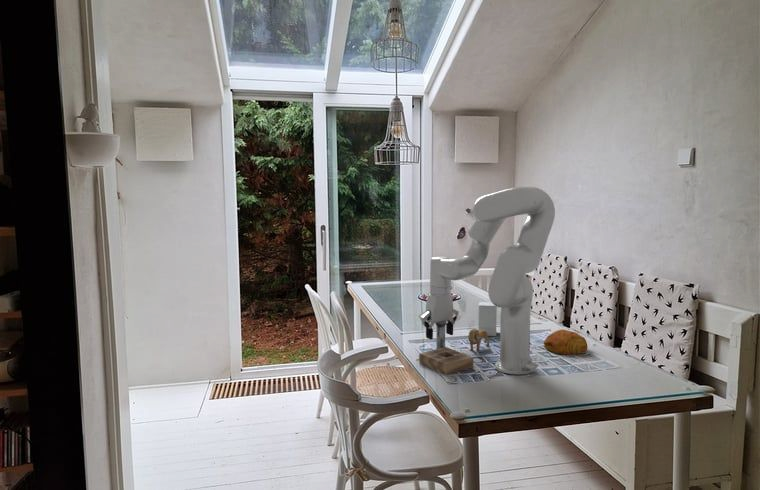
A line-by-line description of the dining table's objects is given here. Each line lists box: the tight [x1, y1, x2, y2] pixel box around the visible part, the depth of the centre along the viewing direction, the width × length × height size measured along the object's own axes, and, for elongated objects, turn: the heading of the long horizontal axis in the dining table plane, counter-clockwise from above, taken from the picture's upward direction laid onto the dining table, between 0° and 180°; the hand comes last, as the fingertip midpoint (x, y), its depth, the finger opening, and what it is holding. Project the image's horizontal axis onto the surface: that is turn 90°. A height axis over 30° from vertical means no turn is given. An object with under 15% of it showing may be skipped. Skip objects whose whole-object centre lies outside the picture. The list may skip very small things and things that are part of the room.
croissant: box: [542, 329, 588, 356], centre depth 191 cm, size 14×16×8 cm
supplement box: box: [477, 301, 498, 337], centre depth 213 cm, size 7×7×13 cm
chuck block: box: [418, 346, 474, 375], centre depth 175 cm, size 14×12×4 cm
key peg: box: [434, 321, 447, 349], centre depth 189 cm, size 4×4×12 cm
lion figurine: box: [467, 328, 490, 353], centre depth 192 cm, size 15×5×9 cm, turn 152°
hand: (439, 336), depth 189 cm, fingers open, 9 cm apart
